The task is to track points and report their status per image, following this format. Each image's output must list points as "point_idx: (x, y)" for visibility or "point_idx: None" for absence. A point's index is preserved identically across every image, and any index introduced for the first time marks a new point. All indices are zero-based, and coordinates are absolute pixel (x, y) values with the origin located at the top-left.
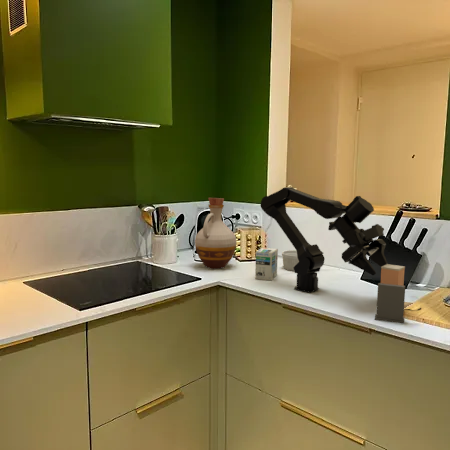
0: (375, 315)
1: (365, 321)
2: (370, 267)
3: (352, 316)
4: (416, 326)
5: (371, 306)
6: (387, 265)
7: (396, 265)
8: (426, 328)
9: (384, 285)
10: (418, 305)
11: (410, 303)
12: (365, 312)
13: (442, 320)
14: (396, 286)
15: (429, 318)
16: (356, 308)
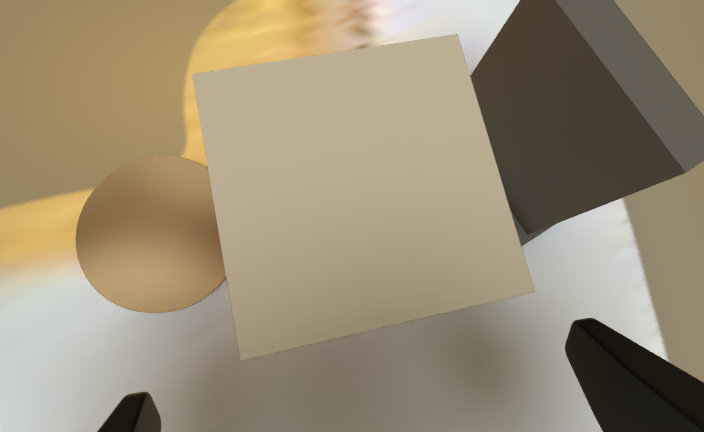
0: (535, 235)
1: (626, 232)
2: (696, 387)
3: (631, 328)
4: None
5: (367, 388)
6: (359, 287)
7: (226, 196)
8: (437, 2)
9: (685, 98)
10: (70, 212)
11: (106, 245)
12: (505, 330)
13: (250, 3)
14: (622, 12)
15: (277, 56)
16: (493, 419)
